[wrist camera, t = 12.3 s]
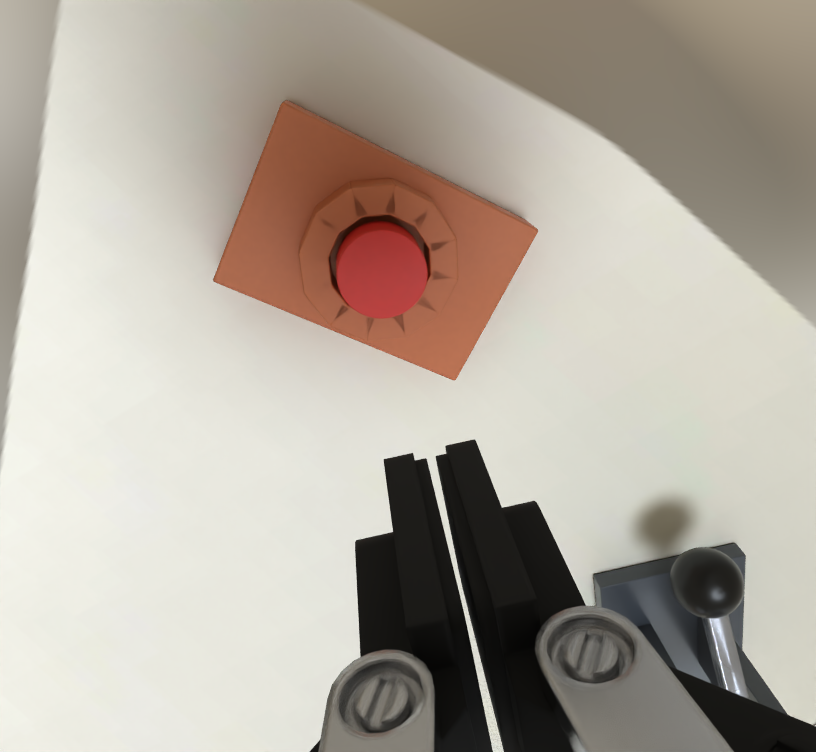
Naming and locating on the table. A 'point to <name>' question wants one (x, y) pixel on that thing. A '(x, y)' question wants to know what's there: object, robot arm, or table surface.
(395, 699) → the robot arm
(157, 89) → the table surface
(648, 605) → the lever bracket
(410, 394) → the table surface
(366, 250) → the button
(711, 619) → the press lever
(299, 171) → the button box
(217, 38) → the table surface
